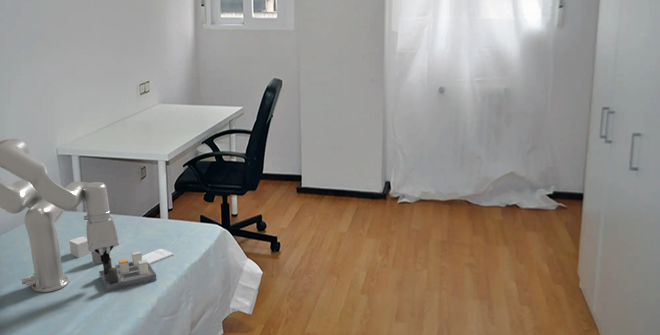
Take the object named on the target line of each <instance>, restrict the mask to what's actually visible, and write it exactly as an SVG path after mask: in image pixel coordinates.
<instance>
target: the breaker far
mask: <svg viewBox="0 0 660 335" xmlns="http://www.w3.org/2000/svg"><path fill="white" fill-rule="evenodd" d="M142 256H143V255H142V252H141V251H140V250H139V251H132V252H131V257H132V262H133V266H134V265H138V261H142Z"/></svg>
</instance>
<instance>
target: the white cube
mask: <svg viewBox="0 0 660 335" xmlns="http://www.w3.org/2000/svg"><path fill="white" fill-rule="evenodd" d="M68 242H69V250H70V254H71V255H73V256H75V257H76V258H82V257H85V256H89V255H92V252H89V251H88V246H89V245H88V241H87V236H86V237H85V236H83V235H82V236H79V237H77V238H76V237H75V238H72V239H70V240H69V241H68Z"/></svg>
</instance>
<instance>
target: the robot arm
mask: <svg viewBox="0 0 660 335" xmlns="http://www.w3.org/2000/svg"><path fill="white" fill-rule="evenodd" d="M29 152H30V150H29V147H28V144H26V142H24V141H23V140H21V139H18V138H9V139H7V138H6V139H2V140H0V168H1V169H3V170H5V171H7V172H9V173H10V174H12V175H14V176H15V177H18V178H20V180H17V181H14V182H13V183H9V182H8V181H5V180H4V179H3V178H1V177H0V208H1V209H2V210H4V211H6V212H8V213H9V214H14V215H15V214H19V213H21V212H22V211H25V209H26V208H28V210H27V211H26V212H25V215H24V220H23V221H24V225H25V228H26V229H25V230H26V232H27V236H28V239H29V246H30V251H31V258H32V264H33V271H34V273H33V274H32V276H30V277H25V278H21V284H22V285H26V286H31V289H32V290H33V291H35V292H38V293H49V292H55V291H58V290H61V289H62V288H65V287H66V286H67V285H68V284H69V277H68V276H66V275H65V274H64V270H63V263H62V256H61V249H60V240H59V235H58V233H57V232H58V231H57V230H56V227H55V224H56V222H57V220H59V218H60V217H61V216H63V213H64V211H73V210H75V209H76V208H78V207H79V206H80V205H81V204H82V203H83V202H85V207H86V215H85V216H84V215H83V220H84V221H87V222H86V238H87V241H88V245H89V246H88V251H89V252H97V253H99V254H100V257H101V262H103V263H104V265H106V263H107V264H109V261H110V258H111V257H110V253H111V251H112V250H113V248H115V247H118V246H119V245H120V243H119V237H118V233H117V232H118V231H117V227H116V223H115V221H114V218H113V217H112V216H111V211H110V204H109V199H108V198H109V197H108V190H107V185H106V184H105V183H104V182H101V181H93V182H86V181H79V180H78V181H72V182H70V183H69V184H67V186H65V187H63V186H61V185H60V184H58V183H56V182H55V181H54V180H53V179H52V178H51V177H50V175H49V173H48V168H47V165H46V164H45V163H44V162H43V161H41V160H39V159H37V158H36V157H34V156H32V155H30V153H29ZM102 248H105V251H104V252H103V250H102ZM103 263H102V264H103Z"/></svg>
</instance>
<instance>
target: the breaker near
mask: <svg viewBox="0 0 660 335" xmlns="http://www.w3.org/2000/svg"><path fill="white" fill-rule="evenodd" d="M138 269H139V275H142V274H146V273H149V272H148V262H147V261H146V260H142V261H138Z"/></svg>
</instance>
